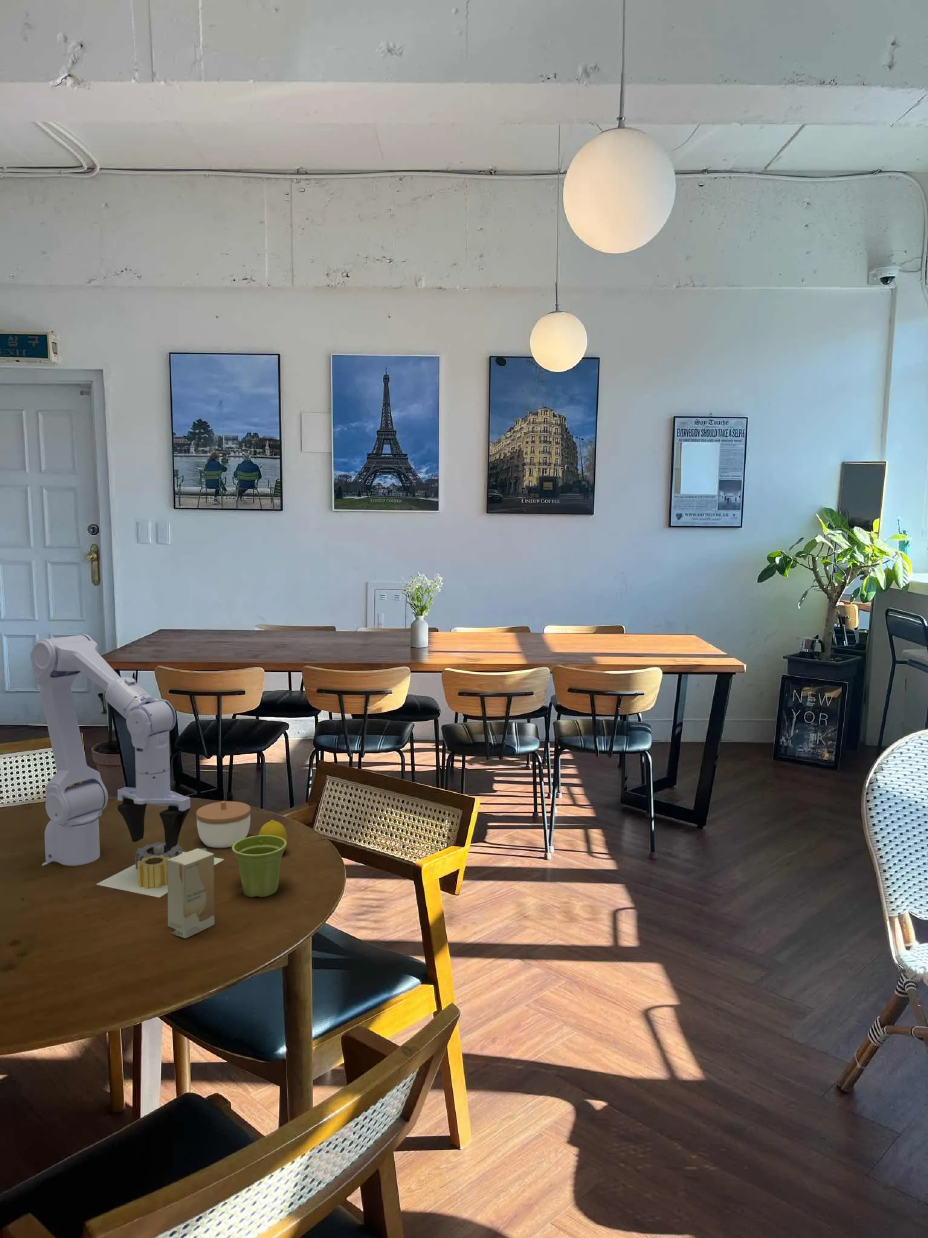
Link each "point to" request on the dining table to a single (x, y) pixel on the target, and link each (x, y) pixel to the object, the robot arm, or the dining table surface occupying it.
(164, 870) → the brass gear
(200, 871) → the skincare box
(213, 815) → the lidded jar
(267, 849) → the plant pot
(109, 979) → the dining table surface
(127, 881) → the gear board
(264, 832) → the lemon
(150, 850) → the gear
